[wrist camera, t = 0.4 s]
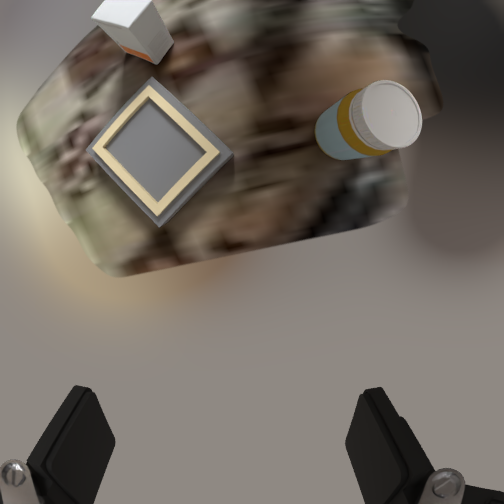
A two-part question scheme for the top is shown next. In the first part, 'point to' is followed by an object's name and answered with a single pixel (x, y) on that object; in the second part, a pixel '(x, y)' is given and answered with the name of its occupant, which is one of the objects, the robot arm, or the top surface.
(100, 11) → the skincare box
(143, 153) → the tray
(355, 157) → the bottle
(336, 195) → the top surface
